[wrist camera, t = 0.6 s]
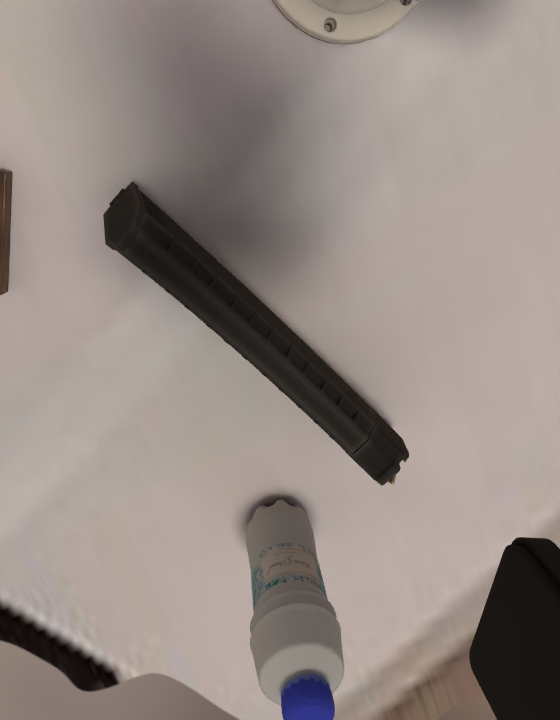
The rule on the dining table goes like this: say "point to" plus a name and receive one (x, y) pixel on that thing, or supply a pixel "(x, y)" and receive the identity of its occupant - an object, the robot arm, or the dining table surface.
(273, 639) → the bottle
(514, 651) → the robot arm
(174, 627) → the dining table surface
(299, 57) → the dining table surface
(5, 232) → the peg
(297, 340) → the magazine
